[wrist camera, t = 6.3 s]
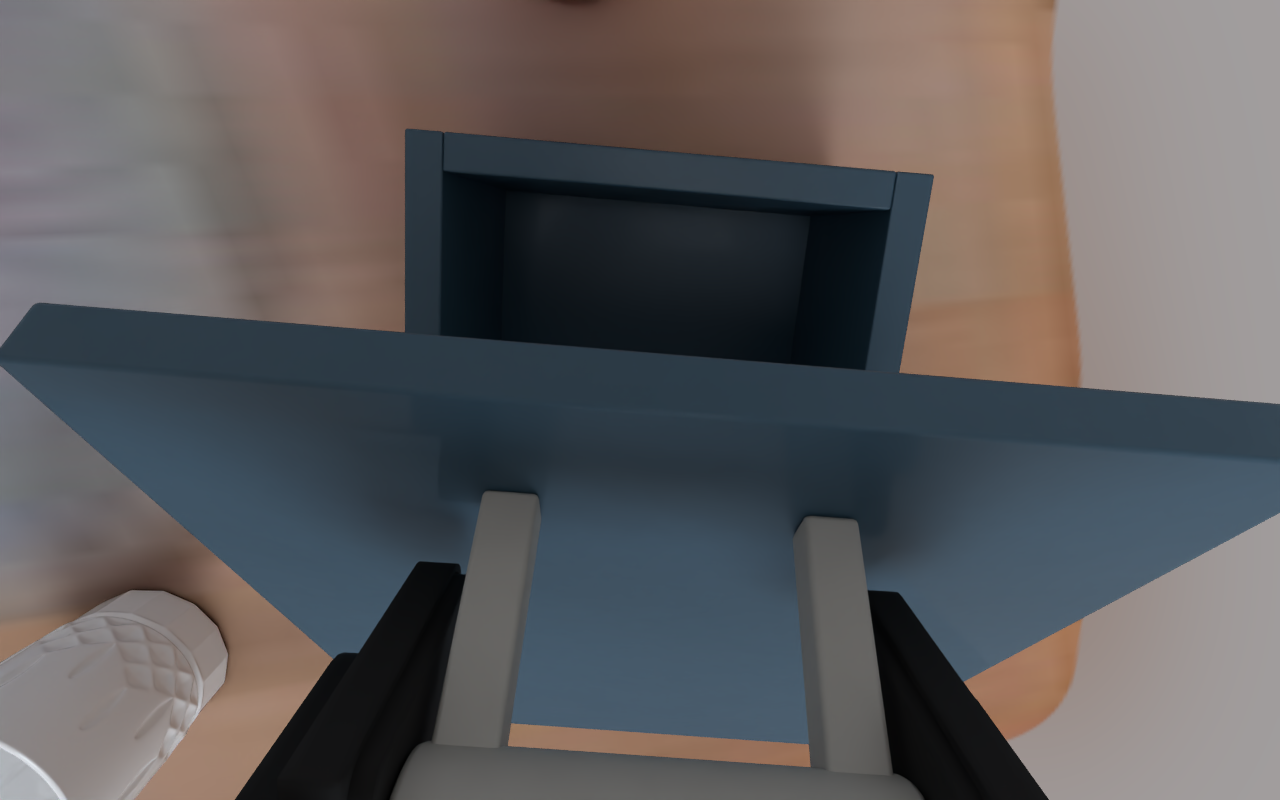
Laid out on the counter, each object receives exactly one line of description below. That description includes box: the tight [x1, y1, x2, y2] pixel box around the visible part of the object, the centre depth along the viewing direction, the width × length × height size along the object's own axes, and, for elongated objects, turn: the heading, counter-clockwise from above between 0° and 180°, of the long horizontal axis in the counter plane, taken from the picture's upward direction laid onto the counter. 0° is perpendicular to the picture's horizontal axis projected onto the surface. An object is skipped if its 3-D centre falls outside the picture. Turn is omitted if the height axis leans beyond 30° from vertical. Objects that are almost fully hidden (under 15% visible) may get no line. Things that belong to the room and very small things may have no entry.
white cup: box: [0, 590, 228, 800], centre depth 28 cm, size 8×8×10 cm
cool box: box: [405, 129, 934, 373], centre depth 25 cm, size 17×14×10 cm
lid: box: [0, 303, 1280, 800], centre depth 13 cm, size 18×14×6 cm
